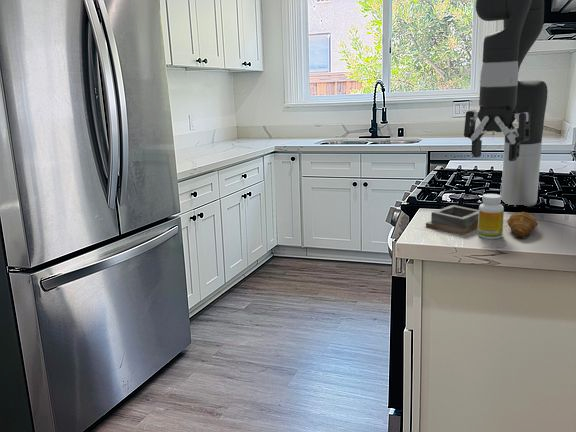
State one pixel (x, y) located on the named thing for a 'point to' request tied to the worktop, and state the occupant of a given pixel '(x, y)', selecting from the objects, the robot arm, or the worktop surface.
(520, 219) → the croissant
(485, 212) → the supplement bottle
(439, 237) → the worktop surface
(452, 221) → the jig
